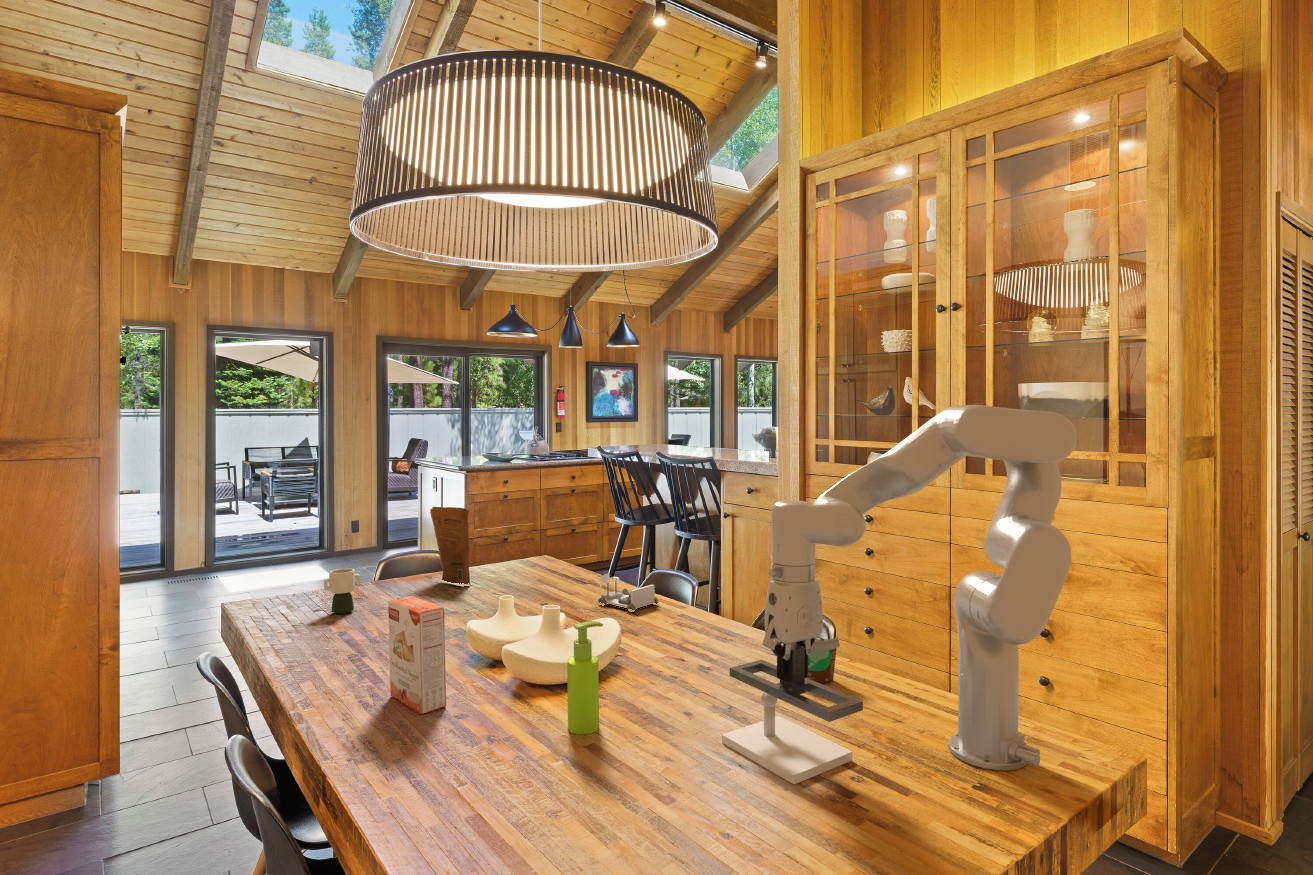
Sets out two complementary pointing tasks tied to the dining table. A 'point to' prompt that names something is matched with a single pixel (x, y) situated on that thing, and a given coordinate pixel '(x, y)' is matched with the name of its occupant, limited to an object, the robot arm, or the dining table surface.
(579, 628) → the soap dispenser
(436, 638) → the cracker box
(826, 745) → the white pegged base
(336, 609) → the character mug
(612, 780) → the dining table surface
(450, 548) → the pancake mix bag
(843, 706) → the grey frame with handle
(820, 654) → the food container
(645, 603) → the grey tabletop ornament
